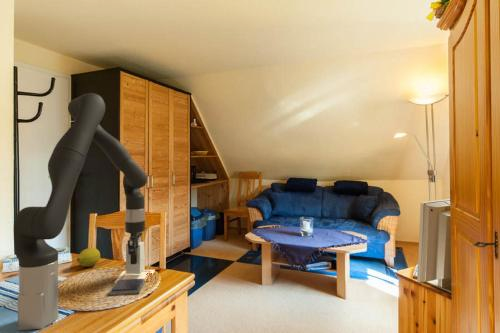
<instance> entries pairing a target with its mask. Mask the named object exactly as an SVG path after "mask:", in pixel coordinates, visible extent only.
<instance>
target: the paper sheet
mask: <svg viewBox="0 0 500 333" xmlns="http://www.w3.org/2000/svg"><path fill="white" fill-rule="evenodd" d="M155 270H156V269H145V270H144V271H143V272H142V273H141V274H126V270H122V272H121V273H120V274H119V276H118V277H117V278H116V279H115V281H114V282H113V284H116V282H117V281H119V280H126V279H145V280H146V279H147V277H148V275H149V273H152V274H153V275H154V273H155ZM147 273H148V274H147ZM146 274H147V275H146Z"/></svg>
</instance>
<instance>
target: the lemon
mask: <svg viewBox="0 0 500 333" xmlns="http://www.w3.org/2000/svg"><path fill="white" fill-rule="evenodd" d="M100 259H101V253H100V250H98V249H97V248H95V247H87V248H85V249H83V250H81V252H80V253H79V254H78V255H77V258H76V262H77V263H78V265H80V266H82V267H84V268H85V267H87V268H88V267H92V266H95V265H96V264H97V263H98V262H99V261H100Z"/></svg>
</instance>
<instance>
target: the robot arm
mask: <svg viewBox="0 0 500 333" xmlns="http://www.w3.org/2000/svg"><path fill="white" fill-rule="evenodd" d="M67 109H68V110H67V111H68V114H69V115H70V116H71V118H72V119H73V123H72V124H71V126H70V127H69V128H68V130H66V132H65V133H64V134H63V135H62V136H61V138H60V139H59V140H58V141H57V143H56V144H55V146H54V148H53V151H52V153H51V155H50V157H49V159H48V162H47V170H48V175H49V179H50V183H51V190H50V191H51V192H50V195H49V198H48V201H47V203H46V205H45V206H26V207H24V208H22V209H20V210H19V211H18V212H17V214H16V216H15V218H14V221H13V240H14V241H13V242H14V252H15V254H14V255H15V256H16V258H17V261H18V296H17V331H29V330H31V331H32V330H41V329H44V328H45V327H46V326H49V325H51V324H53V323H54V322H55V321H57V319H59V251H58V250H57V249H56V248H55V247H53V246H51V245H49V244H48V242H46V240H53V239H55V238H57V237H58V236H59V235H60V234H61V232H62V231H63V229H64V226H65V225H66V222H67V217H68V214H69V209H70V207H71V206H70V205H71V202H72V198H73V193H74V191H75V188H76V185H77V182H78V179H79V176H80V174H81V172H82V169H83V167H84V164H85V162H86V159H87V154H88V151H89V149H90V146H91V144H92V141H93V142H95V143H96V144H97V145H98V147H100V149H101V150H102V151H103V153H104V154H105V155H106V156H107V158H108V159H109V161H110V162H111V163H112V165H113V166H114V167H115V169H116V170H118V171H120V172H121V173H122V174H123V177H122V186H123V190H124V195H125V214H124V216H125V217H124V227H125V228H124V231H125V232H126V233H128V234H130V236H129V238H128V240H127V243H128V254H129V255H131V264H136V263H137V248H138V244H139V242H143V240H142V239H143V232H144V231H146V211H145V210H146V209H145V195H144V194H143V193H141V188H144V187H145V186H146V184H147V183H148V177H147V174H146V172H145V171H144V170H143V168H141V166H140V165H139V164H138V163H137V162H136V161H135V160H134V159H133V157H132V156H131V154H130V152H128V150H127V149H126V148H125V146H124V145H123V144H122V142H121V141H119V140H118V139H117V138H115V137H114V136H112V134H110V133H108V132H107V131H106V130H105V128H103V127H102V126H101V125H100V122H101V121H102V119H103V117H104V115H105V112H106V103H105V101H104V99H103V97H102V96H101V95H99V94H97V93H95V92H89V93H88V92H87V93H84V94H81V95H80V96H77V97H76V98H74V99H72V100H70V102H69V103H68V105H67ZM136 244H137V246H135V245H136ZM132 249H133V250H134V251H132Z"/></svg>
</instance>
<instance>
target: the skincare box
mask: <svg viewBox="0 0 500 333" xmlns="http://www.w3.org/2000/svg"><path fill="white" fill-rule="evenodd" d="M135 246H137V244H136V245H135ZM132 251H134V250H133V249H132ZM144 270H146V268H145V241H142V242H139V244H138V248H137V263H136V264H131V255H129V254H128V242H127V243H125V271H126V274H141V273H142V272H143V271H144Z"/></svg>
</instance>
